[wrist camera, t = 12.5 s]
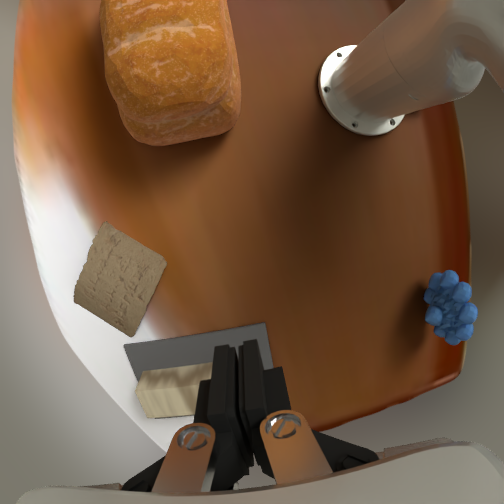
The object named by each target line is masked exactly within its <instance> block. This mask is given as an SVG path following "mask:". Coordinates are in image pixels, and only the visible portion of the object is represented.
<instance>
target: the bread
mask: <svg viewBox="0 0 504 504" xmlns="http://www.w3.org/2000/svg"><path fill="white" fill-rule="evenodd" d="M100 28H101V36H102V41H103V46H104V63H105V79H106V82H107V85H108V88H109V90H110V92H111V95H112V97H113V98H114V100H115V102H116V103H117V106H118V110H119V114H120V117H121V119H122V122H123V125H124V126H125V128H126V129H127V130H128V132H129V133H130V134H131V136H132V137H133V138H134V139H135V140H137V141H138V142H141V143H146V144H148V145H150V146H166V145H171V144H176V143H181V142H186V141H191V140H195V139H200V138H205V137H210V136H216V135H220V134H222V133H224V132H226V131H228V130H230V129H231V128H232V127H233V126H234V125H235V123H236V121H237V119H238V117H239V115H240V107H241V82H240V73H239V65H238V59H237V53H236V47H235V42H234V37H233V32H232V26H231V21H230V16H229V11H228V6H227V0H101V5H100Z"/></svg>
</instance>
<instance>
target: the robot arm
mask: <svg viewBox="0 0 504 504" xmlns="http://www.w3.org/2000/svg"><path fill="white" fill-rule="evenodd" d="M337 56H338V57H339V58H338V57H337ZM485 68H486V69H487V70H488V72H489V73H490V74H491V76H492V77H493V78H494V79H495V81H496V82H497V84H498V85H499V86H500V87H501V89H502V90H503V92H504V0H406V1H405V2H404V3H403V4H402V5H401V6H400V7H398V8H397V9H396V10H395V11H394V12H393V13H392V14H391V15H389V16H388V17H387V18H386V19H385V20H384V21H383V22H382V23H381V24H380V25H378V26H377V27H376V28H375V29H374V30H373V31H372V32H371V33H370V34H369V35H368V36H366V37H365V38H364V39H363V40H362V41H361V42H360V43H359V44H358V45H351V46H345V47H342V48H339V49H337V50H335V51H334V52H332V53H331V54H330V55H329V56H328V57H327V58H326V60H325V61H324V62H323V64H322V66H321V68H320V72H319V76H318V88H319V94H320V97H321V99H322V102H323V104H324V106H325V108H326V109H327V111H328V112H329V114H330V115H331V116H332V117H333V118H334V119H335V120H336V121H337V122H338V123H339V124H340V125H342V126H343V127H345V128H346V129H348V130H350V131H352V132H354V133H357V134H361V135H366V136H375V135H380V134H384V133H387V132H389V131H391V130H393V129H394V128H395V127H396V126H398V125H399V124H400V122H401V121H402V119H403V118H404V115H405V114H408V113H411V112H414V111H418V110H421V109H425V108H428V107H431V106H435V105H439V104H442V103H446V102H449V101H452V100H455V99H459V98H462V97H464V96H466V95H468V94H469V93H471V91H473V90H474V88H475V87H476V86H477V85H478V84H479V82H480V80H481V78H482V76H483V73H484V70H485ZM324 90H326V91H327V93H326V92H325V91H324ZM390 123H391V124H390ZM352 124H354V127H353V126H352ZM253 453H254V455H255V459H256V461H257V464H258V465H260V466H261V469H262V472H263V473H264V474H266V475H268V476H270V477H272V478H274V479H275V481H276V485H269V486H262V487H255V488H247V489H239V483H238V480H240V479H241V478H242V477H243V476H244V475H249V467H252V466H254V458H253ZM16 504H504V463H503V462H502V461H501V460H500V458H499V457H498V456H497V455H495V454H494V453H493V452H492V451H490V449H488V448H487V447H485V446H483V445H481V444H479V443H475V442H467V441H466V442H465V441H457V442H454V441H453V440H451V439H448V438H436V439H432V440H428V441H423V442H418V443H413V444H408V445H402V446H397V447H391V448H384V452H377V453H374V452H373V451H371V450H369V449H367V448H363V447H360V446H357V445H354V444H351V443H348V442H345V441H342V440H339V439H336V438H334V437H331V436H328V435H325V434H322V433H320V432H317V431H315V430H312V429H310V427H309V425H308V423H307V421H306V419H305V418H304V416H303V415H302V414H300V413H299V412H297V411H293V410H291V406H290V401H289V397H288V392H287V387H286V383H285V378H284V373H283V369H282V366H281V367H277V368H272V369H267V370H264V367H263V362H262V358H261V354H260V350H259V345H258V341H257V339H253V340H247V341H243V345H240V346H238V356H237V353H236V349H235V347H230V346H229V344H226V345H220V346H215V347H214V355H213V364H212V373H211V379H207V380H201V381H200V383H199V389H198V396H197V402H196V409H195V416H194V422H193V423H192V424H189V425H186V426H184V427H182V428H180V429H179V430H178V431H177V432H176V433H175V435H174V437H173V439H172V441H171V444H170V446H169V449H168V451H167V454H166V456H164V457H163V458H161V459H160V460H158V461H157V462H155V463H154V464H152V465H151V466H149V467H148V468H146V469H145V470H143V471H142V472H140V473H139V474H137V475H136V476H134V477H132V478H131V479H129V480H128V481H127V482H126V483H125V484H124V485H121V484H120V483H113V484H104V485H92V486H77V487H76V486H48V487H41V488H36V489H33V490H30V491H28V492H26V493H25V494H24V495H22V496H21V497H20V499H19V500H18V501H17V502H16Z"/></svg>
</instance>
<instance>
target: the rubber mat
mask: <svg viewBox="0 0 504 504" xmlns="http://www.w3.org/2000/svg"><path fill="white" fill-rule="evenodd" d="M253 339H257V341H258V345H259V350H260V354H261V358H262V362H263V367H264V370H267V369H272V368H273V363H272V357H271V352H270V346H269V341H268V336H267V330H266V325H265V322H263V323H257V324H252V325H247V326H242V327H236V328H231V329H225V330H219V331H214V332H208V333H202V334H195V335H189V336H183V337H176V338H169V339H162V340H155V341H148V342H140V343H132V344H124V348H125V351H126V353H127V356H128V358H129V361H130V363H131V366H132V368H133V371H134V373H135V376H136V378H137V380H138V382H139V380H140V377H141V375H142V372H143V371H148V370H158V369H166V368H174V367H182V366H189V365H197V364H203V363H210V362H213V355H214V347H215V346H220V345H226V344H229V346H230V347H235V349H236V353H237V356H238V346H240V345H243V341H247V340H253ZM194 415H195V414H194ZM184 416H192V415H184ZM173 417H182V416H173ZM160 418H171V417H160ZM155 419H157V418H155Z"/></svg>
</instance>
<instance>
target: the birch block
mask: <svg viewBox="0 0 504 504" xmlns="http://www.w3.org/2000/svg"><path fill="white" fill-rule="evenodd" d="M212 364H213V362H210V363H203V364H197V365H189V366H182V367H174V368H166V369H158V370H148V371H143V372H142V375H141V377H140V380H139V382H138V385H137V387H136V390H135V392H136V395H137V397H138V399H139V401H140V403H141V405H142V407H143V410H144V412H145V414H146V416H147V418H160V417H173V416H184V415H194V414H195V409H196V402H197V396H198V389H199V383H200V381H201V380H207V379H211V373H212Z"/></svg>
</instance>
